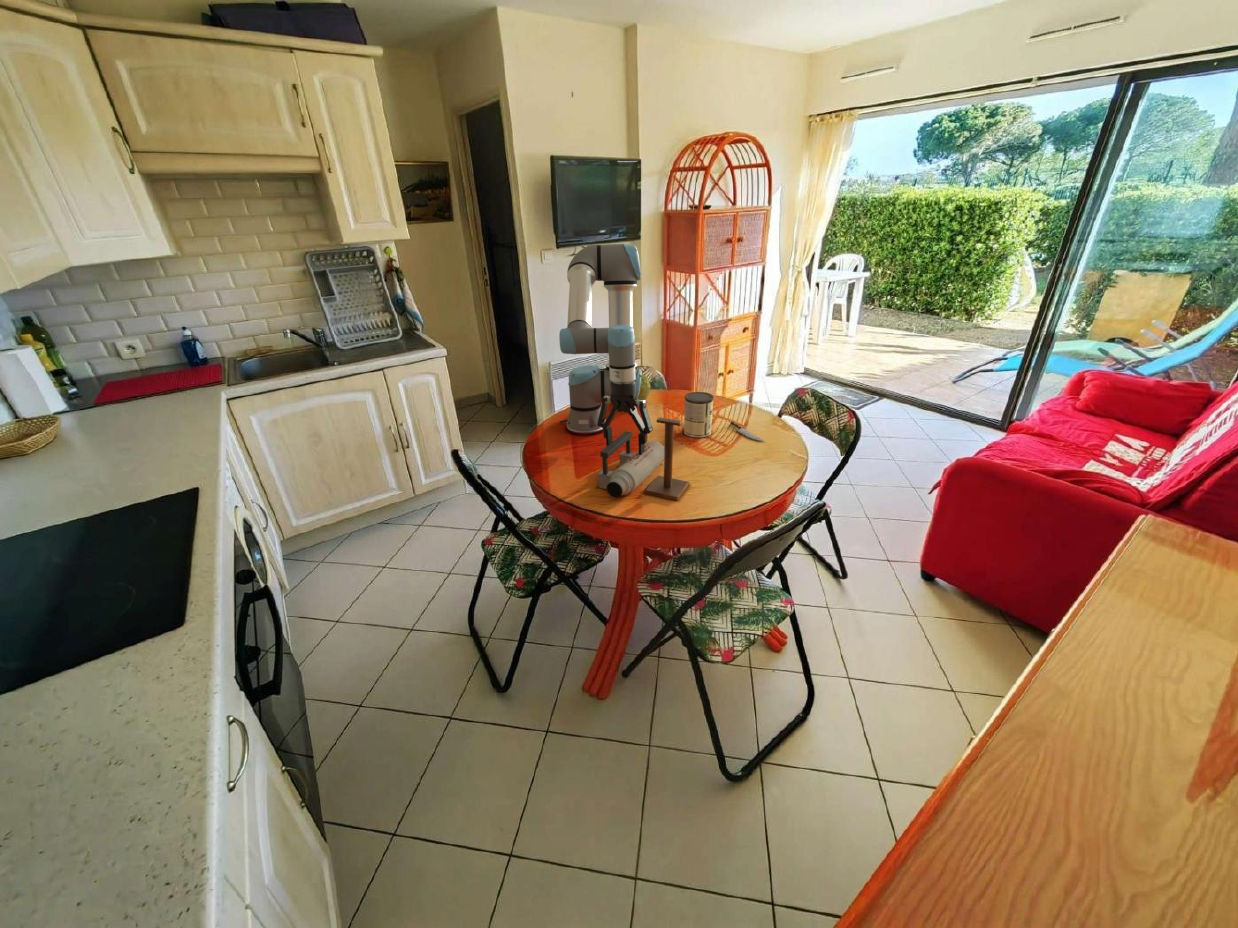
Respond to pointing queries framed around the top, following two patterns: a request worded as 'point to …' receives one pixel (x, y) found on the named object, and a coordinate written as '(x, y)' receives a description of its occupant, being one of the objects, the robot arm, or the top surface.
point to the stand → (668, 468)
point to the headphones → (608, 451)
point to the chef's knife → (746, 432)
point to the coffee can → (698, 414)
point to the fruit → (644, 388)
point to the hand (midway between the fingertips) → (625, 450)
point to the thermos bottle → (635, 470)
